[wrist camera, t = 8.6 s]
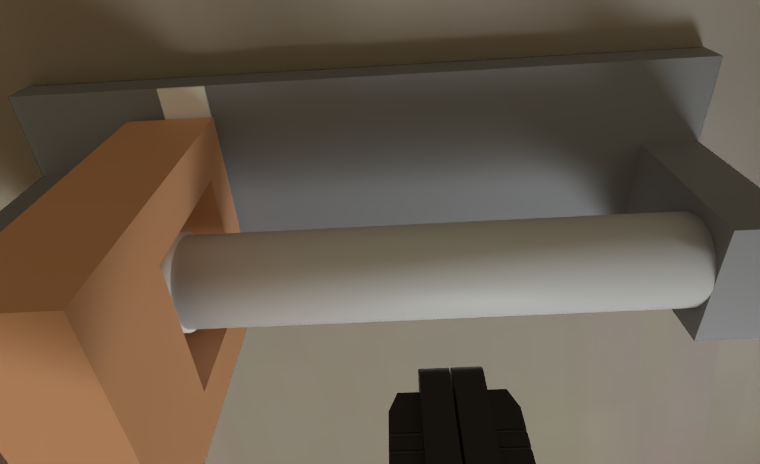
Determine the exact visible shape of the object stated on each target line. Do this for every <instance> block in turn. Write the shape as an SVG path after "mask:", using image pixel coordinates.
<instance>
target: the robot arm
mask: <svg viewBox="0 0 760 464" xmlns="http://www.w3.org/2000/svg"><path fill="white" fill-rule="evenodd" d="M418 374H419V392H414V393H397V395H396V397H395V400H394V402H393V404H392V406H391V408H390V410H389V464H536V463H535V459H534V456H533V452H532V450H531V444H530V441H529V437H528V433H527V432H526V426H525V422H524V418H523V415H522V411H521V407H520V406H519V405H518V403H517V402H516V401H515V400H514V398H513V397H512V396H511V394H510V393H509V392H508V390H507V389H497V390H487V386H486V381H485V376H484V372H483V369H482V367H455V368H451V370H450V371H449V368H432V369H418Z"/></svg>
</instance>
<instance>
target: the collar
mask: <svg viewBox="0 0 760 464" xmlns="http://www.w3.org/2000/svg"><path fill="white" fill-rule="evenodd" d="M179 232H191V233H193V234H194V235H203V234H223V233H241V232H240V228H239V223H238V219H237V215H236V211H235V207H234V202H233V198H232V194H231V190H230V186H229V181H228V177H227V173H226V169H225V165H224V161H223V156H222V152H221V148H220V144H219V140H218V135H217V131H216V127H215V123H214V119H213V117H206V118H188V119H170V120H152V121H134V122H126V123H125V124H124V125H123V126H122V127H121V128H120V129H118V130H117V131H116V132H115V133H114V134H113V135H112V136H110V137H109V138H108V139H107V140H106V141H105V142H103V143H102V144H101V145H100V146H99V147H98V148H97V149H95V150H94V151H93V152H92V153H91V154H90V155H89V156H87V157H86V158H85V159H84V160H83V161H82V162H81V163H79V164H78V165H77V166H76V167H75V168H74V169H72V170H71V171H70V172H69V173H68V174H67V175H66V176H64V177H63V178H62V179H61V180H60V181H59V182H58V183H56V184H55V185H54V186H53V187H52V188H51V189H50V190H48V191H47V192H46V193H45V194H44V195H43V196H41V197H40V198H39V199H38V200H37V201H36V202H35V203H33V204H32V205H31V206H30V207H29V208H28V209H27V210H25V211H24V212H23V213H22V214H21V215H20V216H18V217H17V218H16V219H15V220H14V221H13V222H12V223H10V224H9V225H8V226H7V227H6V228H5V229H4V230H2V231H1V232H0V453H1V454H2V455H3V457H4V458H5V460H6V461H7V462H8V464H204V463H205V460H206V457H207V454H208V450H209V447H210V444H211V441H212V438H213V434H214V431H215V428H216V425H217V422H218V418H219V415H220V412H221V409H222V406H223V402H224V399H225V396H226V393H227V390H228V386H229V383H230V380H231V377H232V374H233V370H234V367H235V364H236V361H237V358H238V354H239V351H240V348H241V345H242V342H243V338H244V335H245V332H246V329H247V327H240V328H217V329H197V330H195V331H194V332H192V333H183V330H182V327H181V324H180V321H179V319H178V316H177V313H176V310H175V307H174V304H173V301H172V299H171V296H170V293H169V290H168V287H167V284H166V282H165V279H164V276H163V273H162V270H161V267H160V263H161V262H162V260H163V258H164V257H165V255H166V253H167V252H168V250H169V248H170V247H171V245H172V244H173V242H174V240H175V239H176V237H177V235H178V234H179Z"/></svg>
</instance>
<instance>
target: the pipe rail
mask: <svg viewBox="0 0 760 464" xmlns="http://www.w3.org/2000/svg"><path fill="white" fill-rule="evenodd" d="M722 58H723V56H722V55H720V54H718V53H716V52H713V51H711V50H709V49H707V48H705V47H698V48H681V49H663V50H646V51H629V52H612V53H595V54H578V55H561V56H543V57H526V58H509V59H492V60H475V61H458V62H441V63H424V64H406V65H389V66H372V67H355V68H338V69H321V70H304V71H286V72H269V73H252V74H235V75H218V76H201V77H184V78H166V79H149V80H132V81H115V82H98V83H81V84H64V85H46V86H29V87H26V88H24V89H22V90H20V91H18V92H17V93H15V94H13V95H11V96H9V97H8V99H9V101H10V103H11V105H12V108H13V110H14V112H15V114H16V117H17V119H18V121H19V123H20V126H21V128H22V130H23V132H24V134H25V137H26V139H27V141H28V143H29V146H30V148H31V150H32V152H33V154H34V157H35V159H36V161H37V163H38V166H39V168H40V170H41V172H42V174H43V177H42V178H40V179H39V180H38V181H37V182H35V183H34V184H33V185H32V186H30V187H29V188H28V189H27V190H26V191H24V192H23V193H22V194H21V195H19V196H18V197H17V198H16V199H15V200H13V201H12V202H11V203H10V204H8V205H7V206H6V207H5V208H3V209H2V210H1V211H0V232H1V231H2V230H4V229H5V228H6V227H7V226H8V225H9V224H10V223H12V222H13V221H14V220H15V219H16V218H17V217H18V216H20V215H21V214H22V213H23V212H24V211H25V210H27V209H28V208H29V207H30V206H31V205H32V204H33V203H35V202H36V201H37V200H38V199H39V198H40V197H41V196H43V195H44V194H45V193H46V192H47V191H48V190H50V189H51V188H52V187H53V186H54V185H55V184H56V183H58V182H59V181H60V180H61V179H62V178H63V177H64V176H66V175H67V174H68V173H69V172H70V171H71V170H72V169H74V168H75V167H76V166H77V165H78V164H79V163H81V162H82V161H83V160H84V159H85V158H86V157H87V156H89V155H90V154H91V153H92V152H93V151H94V150H95V149H97V148H98V147H99V146H100V145H101V144H102V143H103V142H105V141H106V140H107V139H108V138H109V137H110V136H112V135H113V134H114V133H115V132H116V131H117V130H118V129H120V128H121V127H122V126H123V125H124V124H125V123H126V122H134V121H152V120H170V119H188V118H206V117H213V119H214V123H215V127H216V131H217V135H218V140H219V144H220V148H221V152H222V156H223V161H224V165H225V169H226V173H227V177H228V181H229V186H230V190H231V194H232V198H233V202H234V207H235V211H236V215H237V219H238V223H239V228H240V232H241V233H223V234H203V235H194V234H193V233H191V232H179V234H178V235H177V237H176V239H175V240H174V242H173V244H172V245H171V247H170V248H169V250H168V252H167V253H166V255H165V257H164V258H163V260H162V262H161V263H160V267H161V270H162V273H163V276H164V279H165V282H166V284H167V287H168V290H169V293H170V296H171V299H172V301H173V304H174V307H175V310H176V313H177V316H178V319H179V321H180V324H181V327H182V330H183V333H192V332H194V331H195V330H197V329H217V328H240V327H263V326H287V325H310V324H333V323H356V322H380V321H403V320H426V319H449V318H472V317H496V316H519V315H542V314H565V313H589V312H612V311H635V310H658V309H672V310H673V312H674V313H675V314H676V316H677V317H678V319H679V320H680V321H681V323H682V324H683V326H684V327H685V328H686V330H687V331H688V333H689V334H690V335H691V337H692V338H693V340H694V341H701V340H726V339H750V338H760V188H759V187H758V186H757V185H755V184H754V183H753V182H751V181H750V180H749V179H747V178H746V177H745V176H743V175H742V174H741V173H739V172H738V171H737V170H735V169H734V168H733V167H731V166H730V165H729V164H727V163H726V162H725V161H723V160H722V159H721V158H719V157H718V156H717V155H715V154H714V153H713V152H711V151H710V150H709V149H708V148H706V147H705V146H704V145H702V144H701V143H700V142H698V141H699V137H700V134H701V130H702V127H703V123H704V120H705V117H706V113H707V110H708V106H709V103H710V99H711V96H712V92H713V89H714V85H715V82H716V78H717V75H718V72H719V68H720V65H721V61H722Z"/></svg>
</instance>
